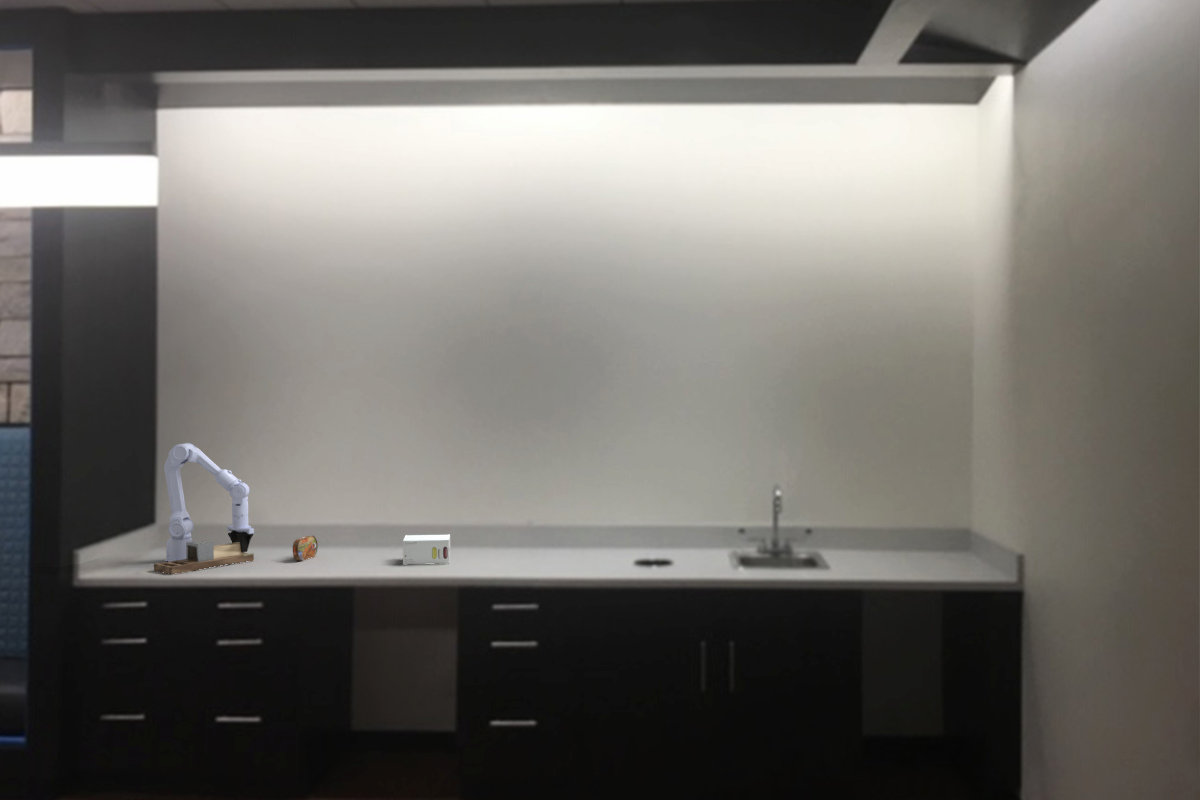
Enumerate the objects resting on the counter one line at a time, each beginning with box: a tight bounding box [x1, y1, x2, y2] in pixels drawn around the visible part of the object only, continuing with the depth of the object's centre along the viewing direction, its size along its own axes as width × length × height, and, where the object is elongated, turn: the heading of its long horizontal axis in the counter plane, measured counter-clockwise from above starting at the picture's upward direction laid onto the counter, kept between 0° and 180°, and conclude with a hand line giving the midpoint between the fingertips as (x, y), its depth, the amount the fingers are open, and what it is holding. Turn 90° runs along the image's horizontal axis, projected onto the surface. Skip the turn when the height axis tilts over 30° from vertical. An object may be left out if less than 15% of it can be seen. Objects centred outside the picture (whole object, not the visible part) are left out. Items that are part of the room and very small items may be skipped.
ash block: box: [214, 542, 245, 559], centre depth 360 cm, size 4×16×4 cm, turn 143°
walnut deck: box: [153, 552, 255, 575], centre depth 355 cm, size 12×32×3 cm, turn 143°
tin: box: [292, 534, 319, 562], centre depth 368 cm, size 15×3×8 cm, turn 168°
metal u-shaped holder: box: [186, 539, 215, 562], centre depth 353 cm, size 8×6×6 cm
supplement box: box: [402, 533, 451, 566], centre depth 361 cm, size 17×13×9 cm
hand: (240, 551), depth 366 cm, fingers closed on ash block, 4 cm apart
